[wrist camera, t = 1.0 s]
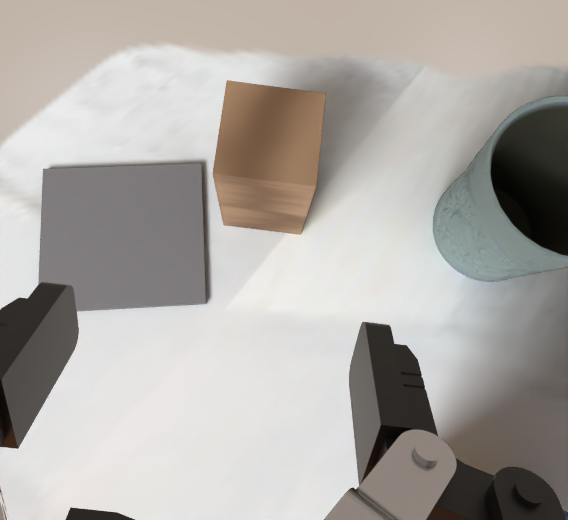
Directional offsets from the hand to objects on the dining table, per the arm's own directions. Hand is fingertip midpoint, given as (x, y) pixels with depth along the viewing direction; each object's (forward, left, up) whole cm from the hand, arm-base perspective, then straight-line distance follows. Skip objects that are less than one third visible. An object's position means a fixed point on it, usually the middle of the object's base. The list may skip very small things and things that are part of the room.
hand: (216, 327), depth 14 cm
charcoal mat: (+8, -9, -23) cm, 27 cm away
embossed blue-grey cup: (-20, -8, -24) cm, 32 cm away
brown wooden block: (-3, -12, -23) cm, 27 cm away
